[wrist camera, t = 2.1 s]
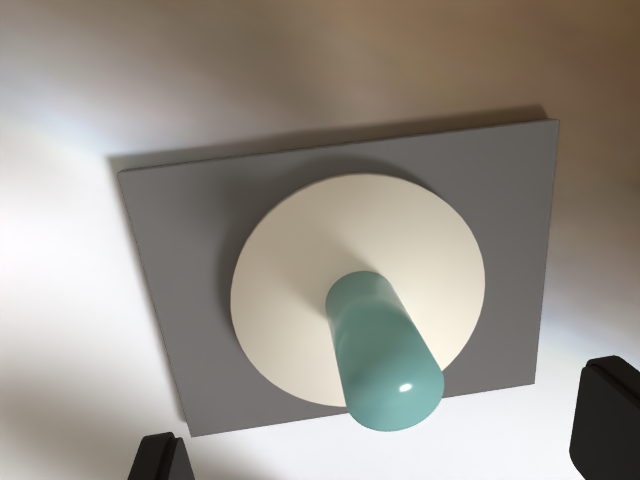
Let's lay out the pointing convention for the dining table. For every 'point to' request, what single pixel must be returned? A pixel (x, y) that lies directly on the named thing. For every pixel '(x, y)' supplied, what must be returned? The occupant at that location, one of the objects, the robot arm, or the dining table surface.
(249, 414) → the mat
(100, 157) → the dining table surface
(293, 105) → the dining table surface
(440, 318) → the lid
